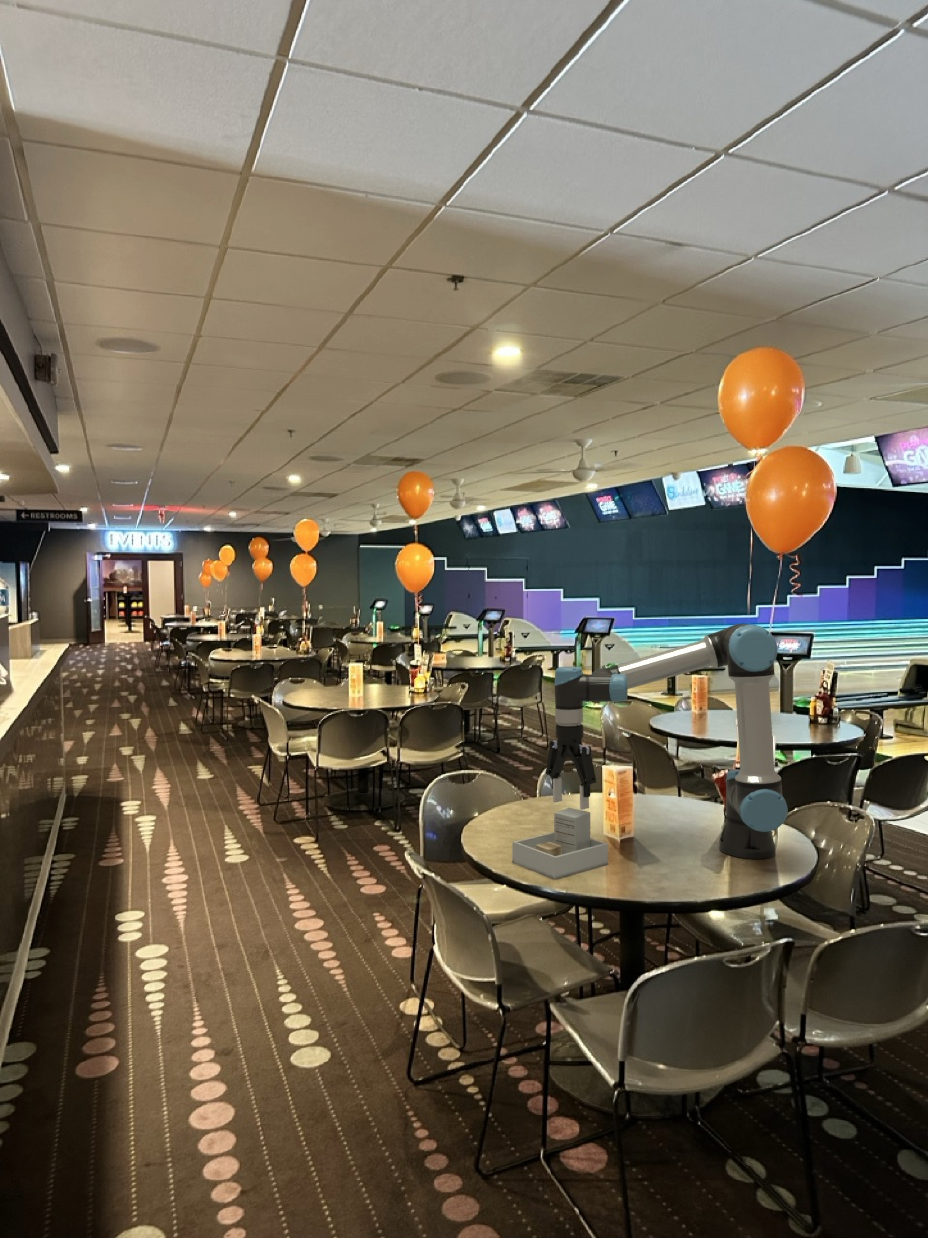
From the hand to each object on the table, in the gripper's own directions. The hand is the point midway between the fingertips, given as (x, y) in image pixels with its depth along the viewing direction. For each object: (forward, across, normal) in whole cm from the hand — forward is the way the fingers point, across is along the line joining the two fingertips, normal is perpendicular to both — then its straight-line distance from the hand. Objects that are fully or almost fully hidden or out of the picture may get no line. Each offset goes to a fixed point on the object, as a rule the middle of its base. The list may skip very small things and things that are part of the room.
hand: (570, 805), depth 226 cm
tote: (+15, -1, +5) cm, 16 cm away
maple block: (+14, -1, +9) cm, 17 cm away
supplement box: (+15, -1, +1) cm, 15 cm away
